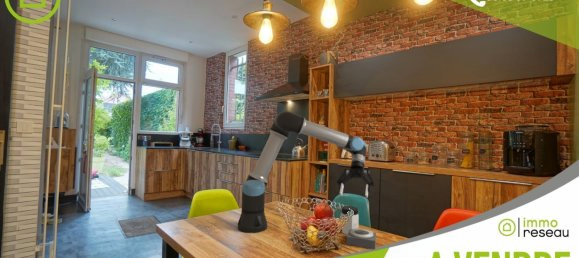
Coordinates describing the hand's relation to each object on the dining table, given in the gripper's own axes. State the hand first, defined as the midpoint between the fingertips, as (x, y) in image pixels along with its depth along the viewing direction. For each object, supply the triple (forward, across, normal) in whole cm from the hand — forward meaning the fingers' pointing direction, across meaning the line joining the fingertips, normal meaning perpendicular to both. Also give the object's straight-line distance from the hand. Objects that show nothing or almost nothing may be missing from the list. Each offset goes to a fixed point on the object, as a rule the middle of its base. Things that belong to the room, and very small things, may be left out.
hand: (353, 195), depth 143 cm
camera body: (+25, -8, +3) cm, 27 cm away
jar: (+18, +1, -5) cm, 19 cm away
